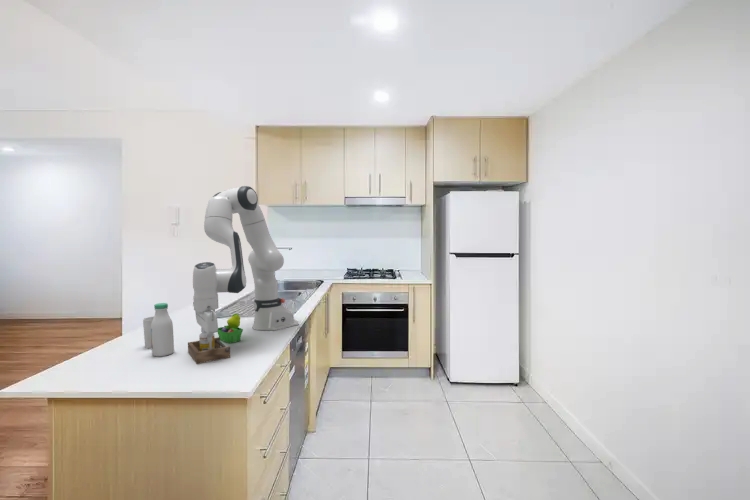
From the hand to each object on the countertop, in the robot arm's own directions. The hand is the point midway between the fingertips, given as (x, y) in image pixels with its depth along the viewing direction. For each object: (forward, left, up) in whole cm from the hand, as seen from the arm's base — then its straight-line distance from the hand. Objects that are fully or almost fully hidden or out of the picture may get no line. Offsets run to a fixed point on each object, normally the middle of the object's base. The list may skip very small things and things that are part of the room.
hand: (207, 339), depth 152 cm
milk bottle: (+14, -12, -6) cm, 20 cm away
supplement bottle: (0, 0, -5) cm, 5 cm away
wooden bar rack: (0, 0, -6) cm, 6 cm away
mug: (+15, -27, -6) cm, 32 cm away
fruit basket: (-13, -15, -6) cm, 21 cm away
